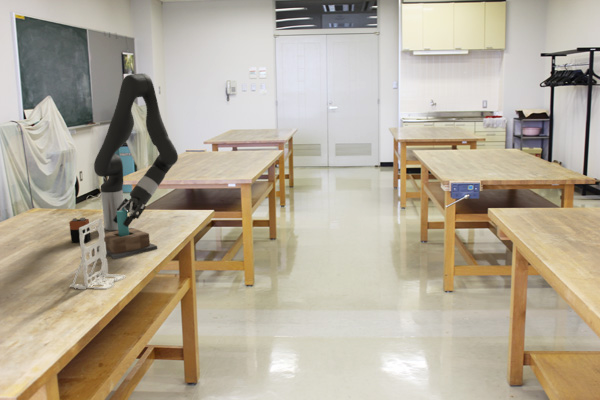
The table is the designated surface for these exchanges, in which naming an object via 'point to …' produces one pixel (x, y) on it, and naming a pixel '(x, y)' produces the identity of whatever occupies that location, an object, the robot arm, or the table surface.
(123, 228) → the peg
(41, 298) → the table surface
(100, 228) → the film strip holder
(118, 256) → the socket block
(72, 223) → the battery
